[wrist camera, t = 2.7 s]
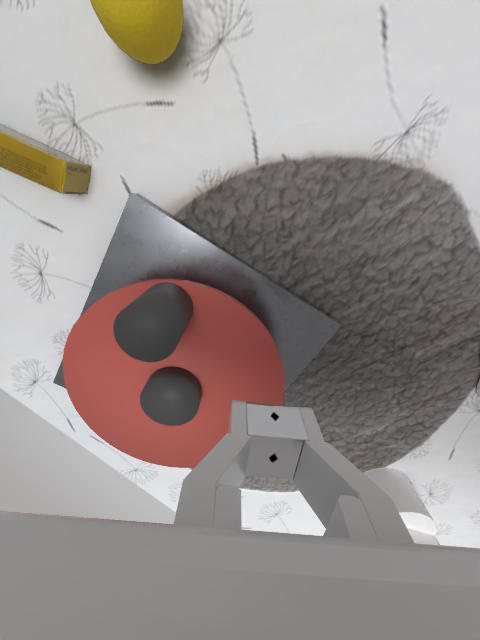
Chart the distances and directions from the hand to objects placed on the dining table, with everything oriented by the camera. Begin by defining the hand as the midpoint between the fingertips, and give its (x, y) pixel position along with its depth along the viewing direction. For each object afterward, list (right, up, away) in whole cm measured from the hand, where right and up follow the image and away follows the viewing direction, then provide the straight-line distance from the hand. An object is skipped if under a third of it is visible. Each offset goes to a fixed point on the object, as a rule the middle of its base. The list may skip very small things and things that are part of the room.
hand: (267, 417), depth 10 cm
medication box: (-21, +19, +14) cm, 31 cm away
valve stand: (-7, 0, +21) cm, 22 cm away
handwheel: (-7, -2, +15) cm, 17 cm away
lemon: (-7, +26, +11) cm, 29 cm away
